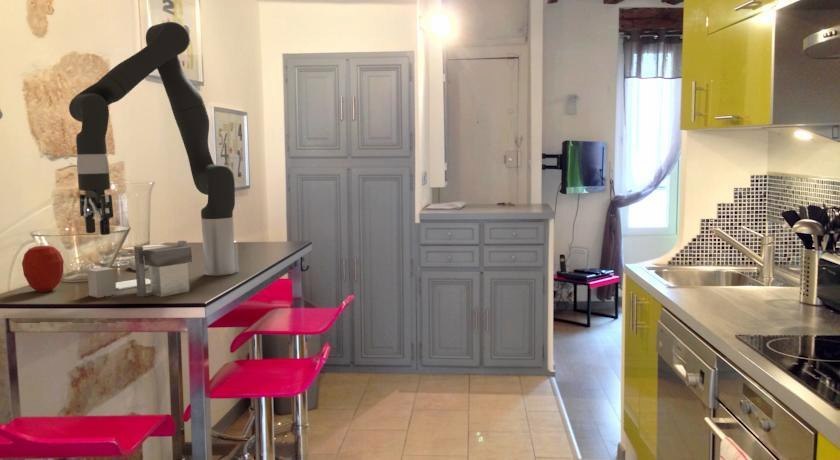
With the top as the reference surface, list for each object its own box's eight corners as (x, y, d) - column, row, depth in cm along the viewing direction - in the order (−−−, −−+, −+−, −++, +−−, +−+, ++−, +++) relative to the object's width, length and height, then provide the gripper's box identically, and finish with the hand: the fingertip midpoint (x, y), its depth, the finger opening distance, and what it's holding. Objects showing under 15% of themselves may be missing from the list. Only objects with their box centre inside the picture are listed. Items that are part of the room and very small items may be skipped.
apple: (74, 288, 197) (70, 239, 195) (43, 295, 188) (39, 243, 186) (46, 286, 201) (42, 238, 199) (15, 293, 191) (10, 243, 190)
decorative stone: (131, 273, 220) (130, 263, 220) (127, 267, 234) (126, 256, 234) (152, 271, 223) (151, 261, 223) (146, 265, 237) (146, 255, 237)
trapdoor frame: (199, 289, 190) (196, 242, 188) (150, 298, 179) (146, 248, 178) (184, 286, 195) (181, 240, 193) (136, 295, 184) (132, 246, 183)
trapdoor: (193, 261, 187) (192, 246, 187) (155, 267, 179) (154, 251, 179) (158, 256, 199) (157, 242, 199) (121, 261, 192) (120, 246, 191)
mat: (143, 279, 208) (143, 278, 208) (160, 283, 201) (160, 281, 201) (103, 285, 199) (103, 284, 199) (119, 289, 193) (119, 288, 193)
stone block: (108, 292, 190) (106, 266, 189) (116, 294, 186) (114, 268, 186) (89, 295, 186) (87, 269, 185) (97, 297, 183) (95, 271, 182)
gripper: (120, 171, 181) (124, 233, 182) (95, 171, 190) (100, 230, 192) (90, 172, 175) (95, 236, 177) (67, 172, 184) (71, 233, 186)
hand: (97, 233), depth 184 cm, fingers open, 8 cm apart
